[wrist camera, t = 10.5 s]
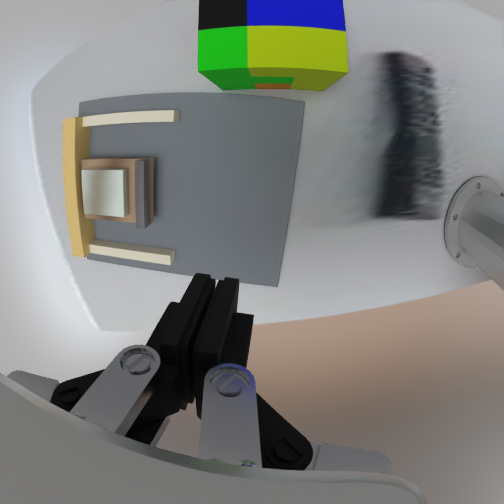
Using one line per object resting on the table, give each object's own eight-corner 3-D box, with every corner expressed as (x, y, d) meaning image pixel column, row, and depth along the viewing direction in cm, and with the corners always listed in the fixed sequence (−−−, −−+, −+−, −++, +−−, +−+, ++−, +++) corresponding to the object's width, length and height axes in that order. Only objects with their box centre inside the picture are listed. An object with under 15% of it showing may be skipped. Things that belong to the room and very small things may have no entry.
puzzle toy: (318, 10, 19) (337, -34, 10) (322, 91, 24) (348, 72, 15) (222, 9, 20) (201, -35, 11) (223, 90, 24) (197, 71, 15)
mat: (304, 102, 24) (308, 98, 21) (277, 285, 33) (277, 301, 30) (81, 102, 25) (64, 102, 22) (88, 257, 34) (75, 269, 31)
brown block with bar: (158, 156, 27) (143, 160, 24) (157, 218, 30) (144, 229, 27) (92, 156, 27) (74, 161, 24) (94, 212, 30) (78, 221, 27)
